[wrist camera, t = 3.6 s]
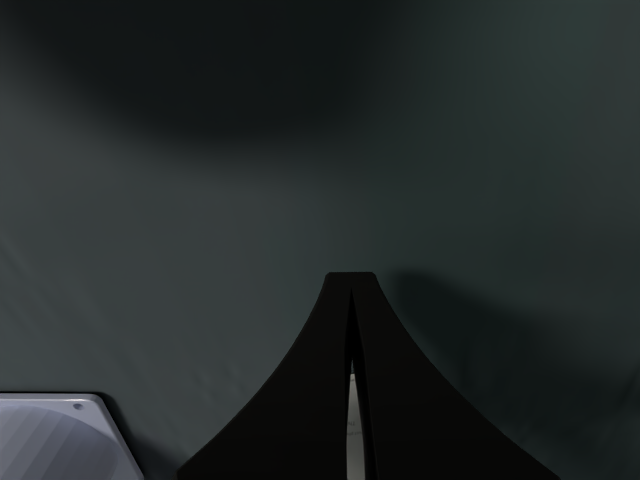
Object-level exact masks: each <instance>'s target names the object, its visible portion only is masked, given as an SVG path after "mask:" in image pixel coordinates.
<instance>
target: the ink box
mask: <svg viewBox="0 0 640 480" xmlns="http://www.w3.org/2000/svg"><path fill="white" fill-rule="evenodd" d="M347 480H365V471H364V450H363V438H362V428H361V420H360V413H359V405H358V398H357V391H356V383H355V376H354V374H351V379H350V394H349V409H348V423H347Z"/></svg>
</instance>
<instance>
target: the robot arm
mask: <svg viewBox="0 0 640 480" xmlns="http://www.w3.org/2000/svg"><path fill="white" fill-rule="evenodd" d="M352 361H353V368H354V376H355V383H356V391H357V398H358V405H359V413H360V420H361V428H362V438H363V450H364V471H365V480H561V479H560V478H559V477H558V476H557V475H555V474H554V473H553V472H552V471H550V470H549V469H548V468H546V467H545V466H544V465H542V464H541V463H540V462H538V461H537V460H536V459H534V458H533V457H532V456H531V455H529V454H528V453H527V452H525V451H524V450H523V449H521V448H520V447H519V446H517V445H516V444H515V443H514V442H513V441H511V440H510V439H509V438H508V437H507V436H506V435H504V434H503V433H502V432H501V431H500V430H499V429H497V428H496V427H495V426H494V425H493V424H492V423H490V422H489V421H488V420H487V419H486V418H485V417H484V416H483V415H482V414H481V413H480V412H479V411H478V410H477V409H475V408H474V407H473V406H472V405H471V404H470V403H469V402H468V401H467V400H466V399H465V398H464V397H463V396H462V395H461V394H460V393H459V392H458V391H457V390H456V389H455V388H454V387H453V386H452V385H451V384H450V383H449V382H448V381H447V380H446V379H445V378H444V377H443V376H442V374H441V373H440V372H439V371H438V370H437V369H436V368H435V366H434V365H433V364H432V363H431V362H430V361H429V359H428V358H427V357H426V356H425V355H424V353H423V352H422V351H421V350H420V348H419V347H418V346H417V344H416V343H415V342H414V340H413V339H412V338H411V336H410V335H409V333H408V332H407V331H406V329H405V328H404V326H403V325H402V323H401V322H400V320H399V319H398V317H397V315H396V314H395V312H394V311H393V309H392V308H391V306H390V304H389V302H388V301H387V299H386V297H385V295H384V293H383V291H382V289H381V287H380V285H379V283H378V281H377V278H376V275H375V274H374V273H373V272H329V273H328V274H327V275H326V276H325V280H324V284H323V287H322V289H321V292H320V295H319V297H318V299H317V301H316V304H315V306H314V308H313V310H312V312H311V314H310V316H309V318H308V320H307V321H306V323H305V325H304V327H303V328H302V330H301V332H300V333H299V335H298V337H297V338H296V340H295V342H294V343H293V345H292V347H291V348H290V350H289V351H288V353H287V354H286V356H285V357H284V358H283V360H282V361H281V363H280V364H279V365H278V367H277V368H276V369H275V371H274V372H273V373H272V375H271V376H270V377H269V378H268V380H267V381H266V382H265V383H264V384H263V386H262V387H261V388H260V389H259V391H258V392H257V393H256V394H255V395H254V396H253V398H252V399H251V400H250V401H249V402H248V403H247V404H246V405H245V406H244V407H243V408H242V409H241V410H240V411H239V413H238V414H237V415H236V416H235V417H234V418H233V419H232V420H231V421H230V422H229V423H228V424H227V425H226V426H225V427H224V428H223V429H222V430H221V431H220V432H219V433H218V434H217V435H216V436H215V437H214V438H213V439H212V440H210V441H209V442H208V443H207V444H206V445H205V446H204V447H203V448H201V449H200V450H199V451H198V452H197V453H196V454H195V455H194V456H192V457H191V458H190V459H189V460H188V461H187V462H186V463H185V464H184V465H182V466H181V467H180V468H179V469H178V470H177V471H176V472H175V474H174V475H173V477H172V479H171V480H347V423H348V409H349V394H350V379H351V364H352ZM0 480H144V476H143V474H142V472H141V470H140V469H139V467H138V465H137V463H136V461H135V459H134V458H133V456H132V454H131V452H130V450H129V448H128V446H127V445H126V443H125V441H124V439H123V437H122V435H121V434H120V432H119V430H118V428H117V426H116V424H115V422H114V421H113V419H112V417H111V415H110V413H109V411H108V410H107V408H106V406H105V404H104V402H103V400H102V399H101V398H100V397H99V396H97V395H94V394H40V393H0Z"/></svg>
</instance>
